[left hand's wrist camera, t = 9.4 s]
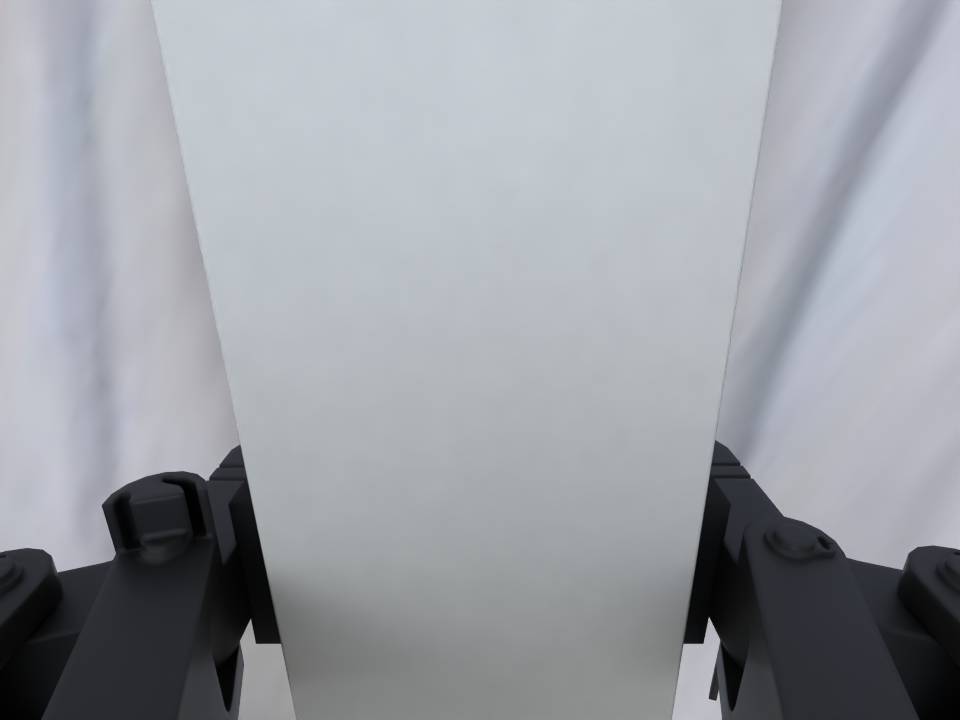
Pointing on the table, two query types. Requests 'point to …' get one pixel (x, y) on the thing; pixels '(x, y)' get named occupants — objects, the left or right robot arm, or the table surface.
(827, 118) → the table surface
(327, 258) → the bar
